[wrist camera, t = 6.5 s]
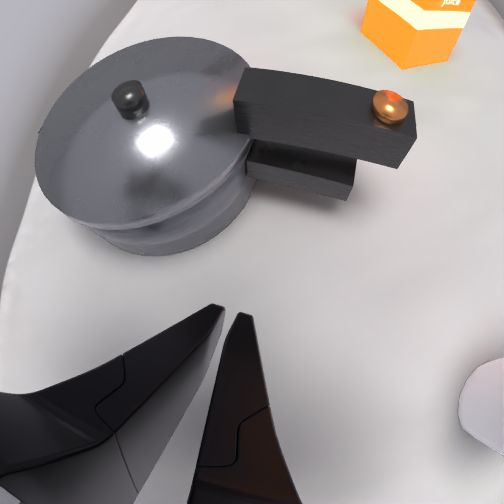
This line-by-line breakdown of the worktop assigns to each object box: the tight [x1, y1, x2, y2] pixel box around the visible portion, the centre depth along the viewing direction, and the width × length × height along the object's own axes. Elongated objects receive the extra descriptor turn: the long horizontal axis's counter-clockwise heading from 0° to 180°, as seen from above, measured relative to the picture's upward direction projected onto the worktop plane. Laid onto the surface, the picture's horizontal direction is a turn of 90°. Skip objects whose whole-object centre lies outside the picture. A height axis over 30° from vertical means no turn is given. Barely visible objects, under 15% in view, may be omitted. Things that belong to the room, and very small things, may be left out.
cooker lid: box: [35, 37, 417, 230], centre depth 16 cm, size 16×24×4 cm, turn 77°
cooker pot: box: [38, 127, 357, 256], centre depth 22 cm, size 15×24×6 cm, turn 74°
